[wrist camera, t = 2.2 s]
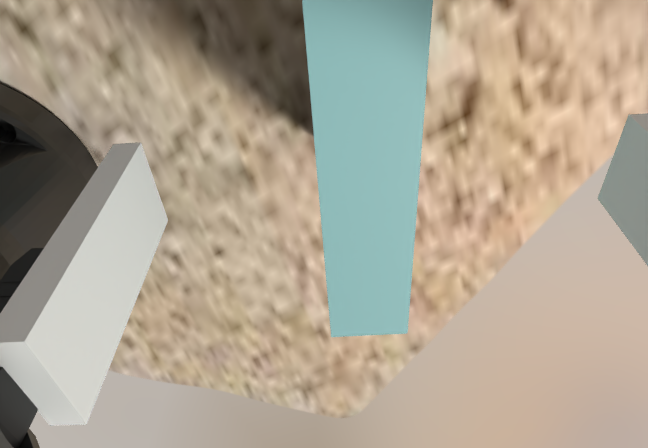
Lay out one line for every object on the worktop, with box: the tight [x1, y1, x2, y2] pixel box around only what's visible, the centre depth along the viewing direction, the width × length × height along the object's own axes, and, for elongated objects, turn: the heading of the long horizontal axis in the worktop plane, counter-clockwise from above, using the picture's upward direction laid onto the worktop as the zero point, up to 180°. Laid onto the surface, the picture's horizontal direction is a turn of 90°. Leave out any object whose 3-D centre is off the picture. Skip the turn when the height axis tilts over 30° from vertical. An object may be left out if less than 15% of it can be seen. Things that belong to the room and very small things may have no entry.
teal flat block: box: [302, 0, 433, 337], centre depth 20 cm, size 16×3×15 cm, turn 3°
